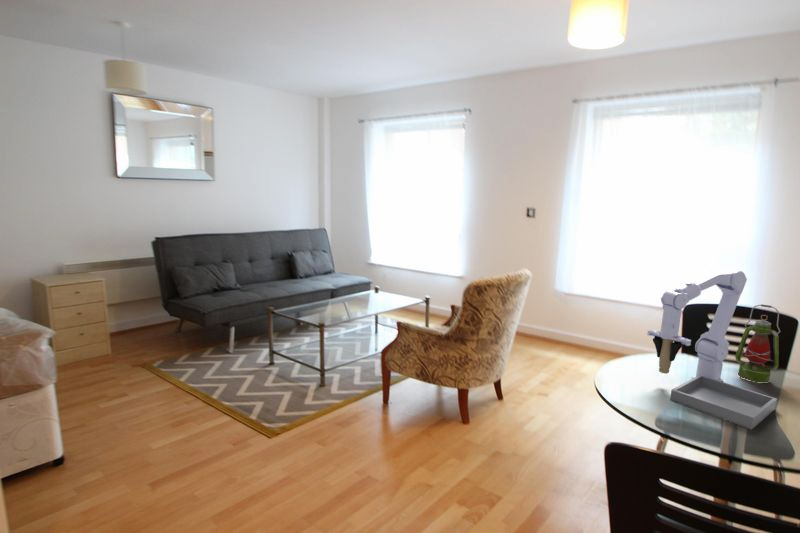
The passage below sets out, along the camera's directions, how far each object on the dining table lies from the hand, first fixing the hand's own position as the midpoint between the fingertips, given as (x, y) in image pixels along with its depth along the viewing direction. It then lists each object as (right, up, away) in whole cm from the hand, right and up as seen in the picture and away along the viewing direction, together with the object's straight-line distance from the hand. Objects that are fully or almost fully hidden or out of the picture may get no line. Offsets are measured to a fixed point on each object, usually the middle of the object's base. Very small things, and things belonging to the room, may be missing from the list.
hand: (665, 358), depth 178 cm
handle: (0, -6, +1) cm, 6 cm away
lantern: (+41, -10, +12) cm, 44 cm away
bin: (+12, -13, -14) cm, 22 cm away
